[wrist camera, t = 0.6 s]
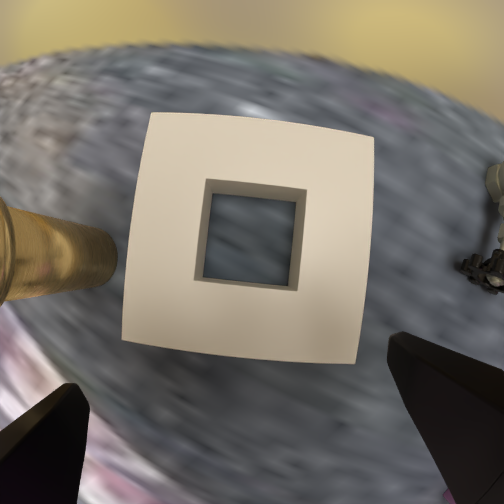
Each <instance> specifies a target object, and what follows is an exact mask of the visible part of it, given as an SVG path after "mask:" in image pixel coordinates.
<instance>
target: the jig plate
mask: <svg viewBox="0 0 504 504" xmlns="http://www.w3.org/2000/svg"><path fill="white" fill-rule="evenodd" d="M373 186H374V137H369V136H365V135H360V134H355V133H350V132H345V131H340V130H335V129H329V128H323V127H317V126H311V125H305V124H298V123H291V122H284V121H276V120H268V119H259V118H249V117H238V116H226V115H212V114H193V113H153V112H152V113H151V117H150V121H149V126H148V130H147V135H146V139H145V144H144V149H143V154H142V159H141V164H140V170H139V175H138V181H137V187H136V193H135V199H134V206H133V213H132V220H131V227H130V235H129V244H128V253H127V263H126V273H125V286H124V300H123V318H122V340H125V341H130V342H135V343H141V344H146V345H152V346H158V347H164V348H170V349H177V350H184V351H191V352H198V353H206V354H214V355H222V356H231V357H241V358H251V359H262V360H275V361H289V362H307V363H333V364H355V361H356V355H357V349H358V343H359V337H360V331H361V324H362V317H363V310H364V302H365V294H366V285H367V276H368V266H369V255H370V243H371V229H372V212H373ZM213 193H216V194H227V195H237V196H246V197H256V198H265V199H273V200H282V201H290V202H296V210H295V221H294V231H293V242H292V252H291V261H290V271H289V280H288V286H281V285H271V284H261V283H251V282H242V281H233V280H224V279H215V278H206V277H203V272H204V262H205V253H206V244H207V235H208V227H209V218H210V210H211V202H212V194H213Z"/></svg>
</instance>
